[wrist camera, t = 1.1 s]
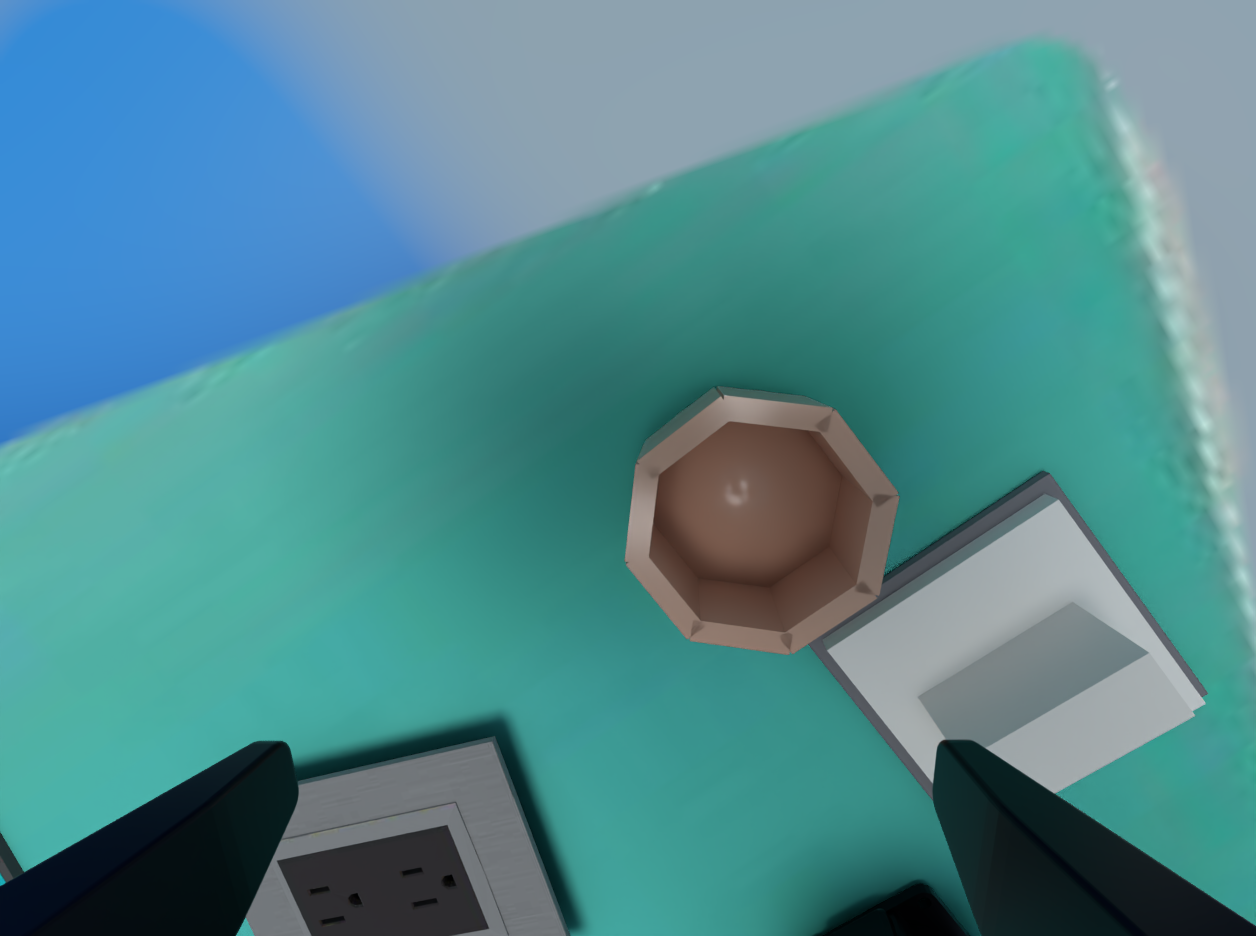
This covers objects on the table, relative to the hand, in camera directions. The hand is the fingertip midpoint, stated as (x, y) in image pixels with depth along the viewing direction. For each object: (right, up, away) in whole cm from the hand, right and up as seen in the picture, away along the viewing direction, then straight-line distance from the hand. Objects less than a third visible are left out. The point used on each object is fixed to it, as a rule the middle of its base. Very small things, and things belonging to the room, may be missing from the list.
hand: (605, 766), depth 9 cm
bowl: (+5, +3, +14) cm, 15 cm away
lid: (+14, -3, +14) cm, 20 cm away
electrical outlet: (-9, -12, +19) cm, 24 cm away
